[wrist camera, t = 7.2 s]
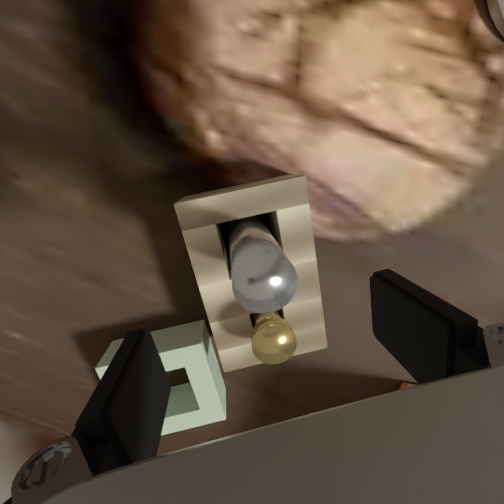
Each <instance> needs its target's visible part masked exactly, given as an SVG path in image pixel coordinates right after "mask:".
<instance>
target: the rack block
mask: <svg viewBox="0 0 504 504" xmlns="http://www.w3.org/2000/svg"><path fill="white" fill-rule="evenodd" d="M150 333H151V335H152V337H153V340H154V343H155V345H156V348H157V350H158V353H159V355H160V358H161V360H162V363H163V366H164V368H165V371H166V372H167V371H171V370H175V369H179V368H184V367H185V369H186V372H187V375H188V377H189V380H190V382H189V383H185V384H181V385H177V386H173V387H171V392H170V396H169V401H168V406H167V410H166V415H165V419H164V424H163V428H162V433H161V435H165V434H169V433H173V432H177V431H181V430H185V429H189V428H193V427H197V426H202V425H206V424H210V423H214V422H218V421H222V420H226V388H225V385H224V381H223V378H222V375H221V372H220V368H219V365H218V362H217V359H216V355H215V352H214V349H213V346H212V342H211V339H210V336H209V333H208V330H207V326H206V323H205V320H199V321H195V322H191V323H187V324H182V325H178V326H174V327H169V328H165V329H161V330H157V331H152V332H150ZM123 340H124V338H122V339H118V340H114V341H112V342H111V344H110V346H109V347H108V349H107V350H106V352H105V353H104V355H103V356H102V358H101V360H100V361H99V363H98V364H97V366H96V367H95V370H96V372H97V374H98V376H99V378H100V380H101V378H102V376H103V375H104V373H105V371H106V369H107V368H108V366H109V364H110V362H111V361H112V359H113V357H114V355H115V354H116V352H117V350H118V348H119V347H120V345H121V343H122V341H123Z"/></svg>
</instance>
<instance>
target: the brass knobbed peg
mask: <svg viewBox="0 0 504 504" xmlns="http://www.w3.org/2000/svg"><path fill="white" fill-rule="evenodd" d="M253 317H254V322H255V327H254V328H253V330H252V332H251V345H252V351H253V354H254V356H255V357H256V358H257V359H258V360H259V361H261V362H263V363H266V364H278V363H281V362H284V361H286V360H287V359H289V358H290V357H291V356H292V355H293V354H294V352H295V350H296V347H297V339H296V336H295V334H294V331H293V329H292V327H291V325H290V324H289V323H288V322H287V321H286V320H284V319H281V318H280V315H279V312H278V310H277V311H274V312H271V313H253Z"/></svg>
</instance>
